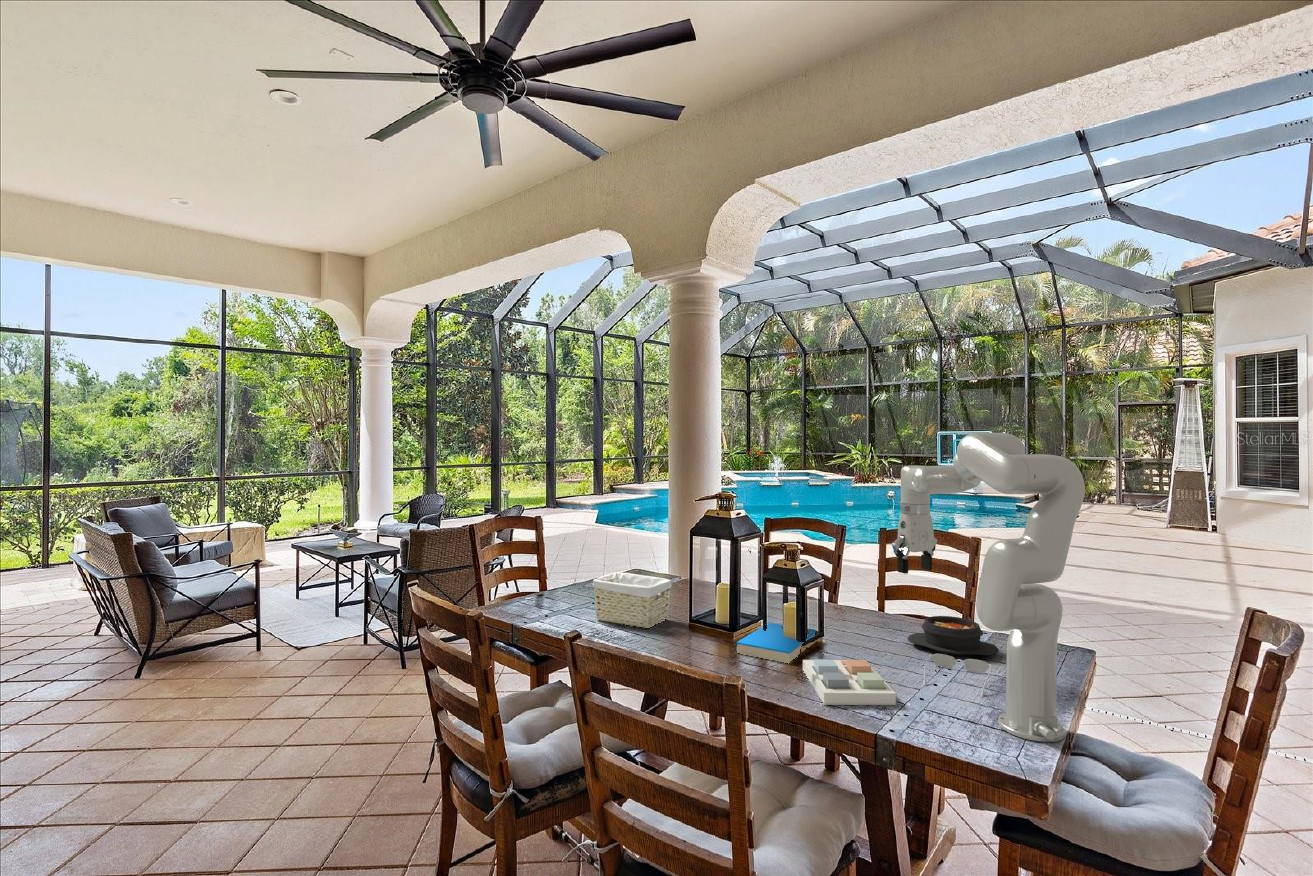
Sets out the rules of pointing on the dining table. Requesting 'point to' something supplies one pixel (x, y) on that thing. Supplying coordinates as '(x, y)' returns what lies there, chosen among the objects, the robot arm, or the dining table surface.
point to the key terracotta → (858, 666)
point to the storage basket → (631, 599)
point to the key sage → (870, 681)
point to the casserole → (952, 636)
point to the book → (771, 644)
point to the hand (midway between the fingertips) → (914, 571)
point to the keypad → (851, 695)
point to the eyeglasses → (969, 664)
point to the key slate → (835, 680)
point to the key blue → (825, 666)
